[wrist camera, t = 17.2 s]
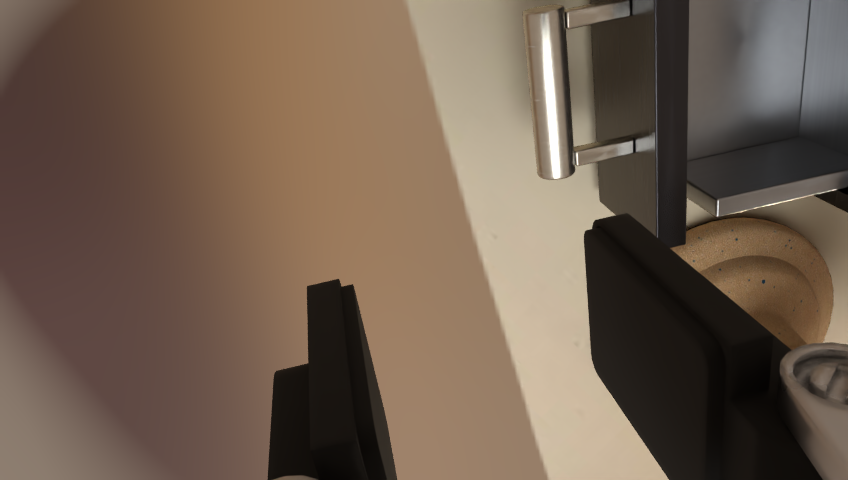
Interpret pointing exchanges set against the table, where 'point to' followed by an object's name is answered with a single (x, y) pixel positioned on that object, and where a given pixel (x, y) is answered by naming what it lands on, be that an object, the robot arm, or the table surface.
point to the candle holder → (765, 275)
